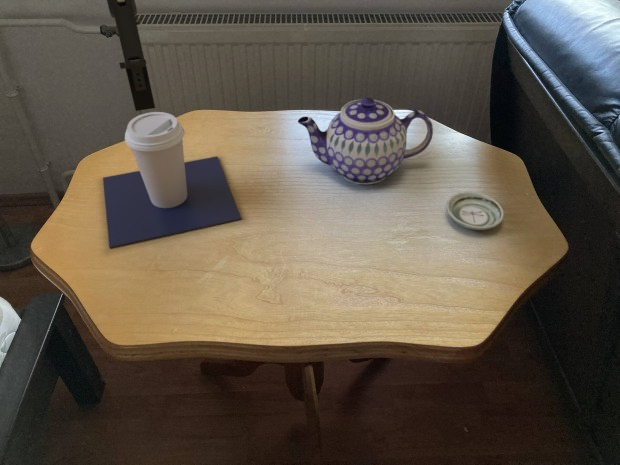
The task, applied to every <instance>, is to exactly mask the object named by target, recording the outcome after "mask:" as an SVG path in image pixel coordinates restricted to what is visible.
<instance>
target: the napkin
mask: <svg viewBox="0 0 620 465" xmlns="http://www.w3.org/2000/svg"><path fill="white" fill-rule="evenodd" d="M184 164H185V175H186V186H187V198H186V200H185V201H184V202H183V203H182V204H180V205H178V206H176V207H172V208H160V207H157V206H155V205H153V204H152V202H151V200H150V197H149V194H148V192H147V189H146V186H145V184H144V181H143V178H142V176H141V173H140V171H139V170H137V171H131V172H126V173H119V174H115V175H109V176H104V177H102V183H103V193H104V205H105V206H104V207H105V216H106V228H107V239H108V248H109V249H114V248H118V247H119V248H120V247H123V246H128V245H132V244H133V245H134V244H137V243H142V242H146V241H151V240H154V239H155V240H156V239H160V238H164V237H168V236H173V235H177V234H183V233H188V232H191V231H197V230H201V229H205V228H209V227H213V226H214V227H215V226H219V225H223V224H224V225H225V224H227V223H233V222H237V221H241V220H242V216H241V213H240V211H239V209H238V205H237V203H236V201H235V199H234V198H235V197H234V195H233V193H232V190H231V188H230V184H229V183H228V180H227V177H226V175H225V172H224V169H223V167H222V165H221V162H220V159H219V157H218V155H217V156H211V157H206V158H201V159H195V160H190V161H184Z"/></svg>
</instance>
